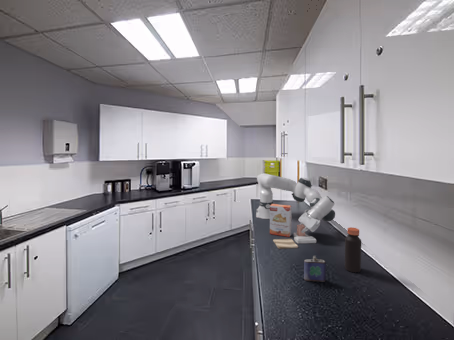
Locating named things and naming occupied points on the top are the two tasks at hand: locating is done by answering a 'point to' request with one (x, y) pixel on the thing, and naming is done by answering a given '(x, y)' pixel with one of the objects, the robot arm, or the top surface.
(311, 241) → the dispenser
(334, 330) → the top surface
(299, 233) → the block
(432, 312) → the top surface
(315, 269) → the flask
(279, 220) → the cracker box
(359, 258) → the bottle
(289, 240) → the board
